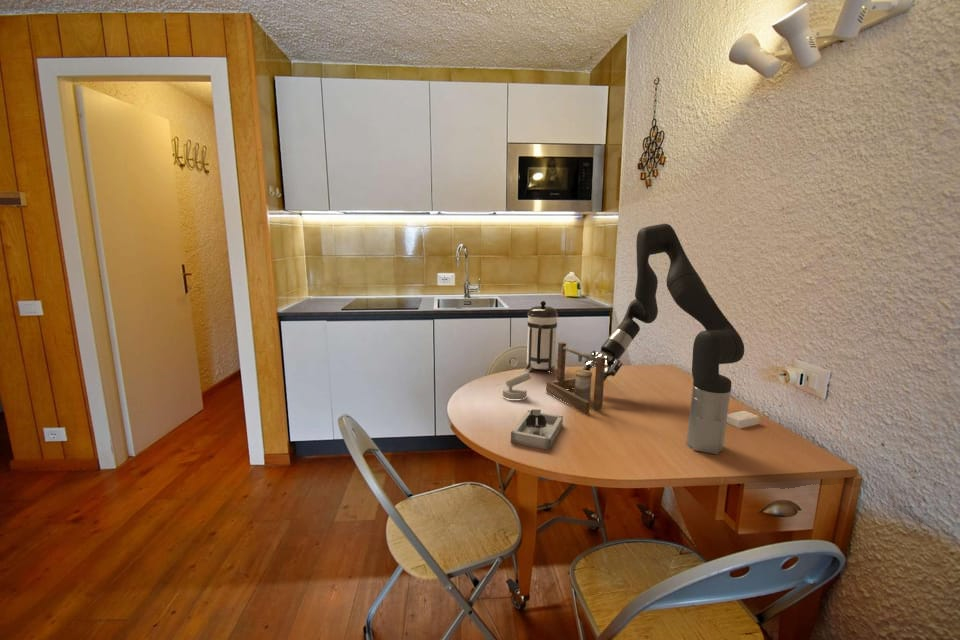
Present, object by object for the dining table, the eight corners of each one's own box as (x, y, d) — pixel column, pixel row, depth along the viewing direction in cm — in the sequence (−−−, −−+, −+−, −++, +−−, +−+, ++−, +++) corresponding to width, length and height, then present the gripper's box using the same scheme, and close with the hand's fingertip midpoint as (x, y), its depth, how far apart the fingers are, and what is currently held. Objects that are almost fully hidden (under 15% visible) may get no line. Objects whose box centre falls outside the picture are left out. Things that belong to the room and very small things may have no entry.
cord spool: (589, 403, 153) (590, 375, 151) (572, 400, 155) (573, 373, 153) (591, 397, 158) (593, 371, 156) (575, 395, 160) (577, 369, 158)
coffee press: (514, 366, 193) (516, 299, 187) (544, 362, 200) (547, 297, 194) (537, 378, 178) (540, 305, 172) (568, 373, 185) (572, 303, 179)
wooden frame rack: (576, 386, 169) (579, 340, 166) (619, 406, 150) (623, 354, 146) (545, 392, 163) (547, 344, 159) (585, 414, 143) (589, 360, 140)
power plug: (542, 416, 137) (546, 407, 126) (543, 441, 134) (547, 434, 123) (524, 415, 137) (527, 407, 126) (524, 440, 134) (526, 433, 123)
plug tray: (548, 449, 119) (549, 439, 119) (510, 441, 124) (511, 432, 123) (562, 425, 135) (562, 416, 134) (527, 419, 139) (528, 410, 138)
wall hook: (533, 374, 153) (504, 374, 152) (532, 400, 154) (503, 400, 154) (529, 367, 161) (502, 367, 161) (528, 392, 163) (501, 392, 162)
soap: (743, 418, 143) (744, 409, 142) (759, 425, 138) (760, 416, 137) (723, 422, 139) (725, 413, 139) (739, 429, 134) (741, 420, 134)
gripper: (636, 355, 156) (609, 390, 153) (607, 345, 169) (582, 378, 166) (626, 342, 153) (599, 378, 150) (598, 333, 165) (572, 366, 162)
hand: (590, 378), depth 158 cm, fingers open, 8 cm apart
